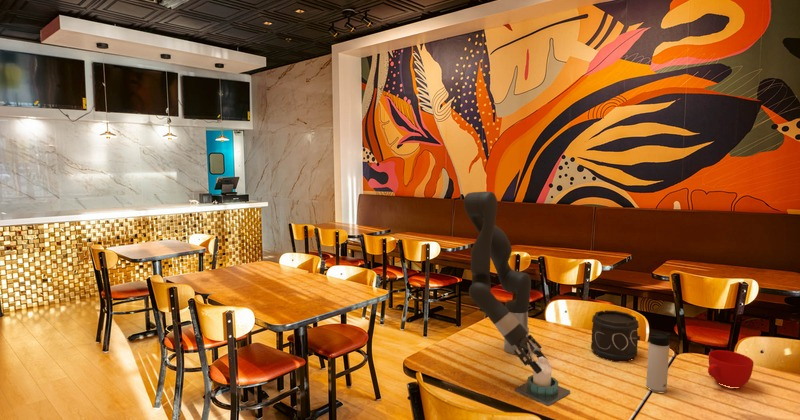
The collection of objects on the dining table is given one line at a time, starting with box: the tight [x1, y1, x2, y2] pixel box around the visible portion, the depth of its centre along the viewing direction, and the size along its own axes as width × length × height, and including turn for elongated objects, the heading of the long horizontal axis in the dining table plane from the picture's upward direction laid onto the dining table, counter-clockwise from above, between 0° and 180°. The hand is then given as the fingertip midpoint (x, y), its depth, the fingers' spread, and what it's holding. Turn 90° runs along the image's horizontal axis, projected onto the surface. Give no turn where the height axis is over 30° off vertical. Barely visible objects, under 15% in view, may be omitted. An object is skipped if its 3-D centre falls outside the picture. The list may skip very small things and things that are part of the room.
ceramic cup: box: [707, 349, 754, 388], centre depth 169 cm, size 13×17×10 cm
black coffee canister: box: [590, 309, 641, 362], centre depth 196 cm, size 18×18×16 cm
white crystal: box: [532, 357, 553, 387], centre depth 164 cm, size 6×12×6 cm
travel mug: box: [645, 331, 672, 393], centre depth 166 cm, size 6×7×20 cm
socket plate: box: [514, 374, 571, 407], centre depth 165 cm, size 13×13×4 cm
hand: (543, 367), depth 164 cm, fingers open, 8 cm apart
